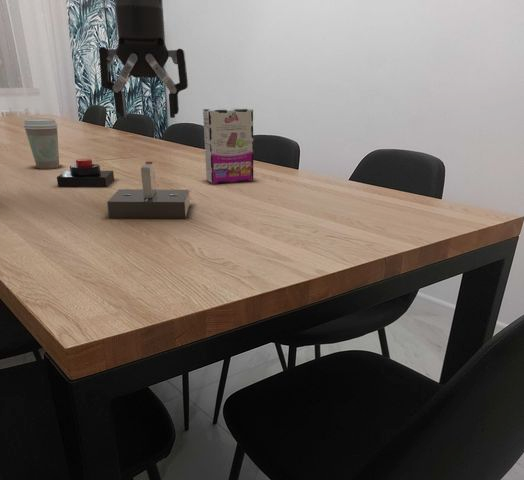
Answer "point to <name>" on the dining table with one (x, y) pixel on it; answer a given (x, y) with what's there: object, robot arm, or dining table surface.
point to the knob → (148, 179)
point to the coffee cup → (43, 142)
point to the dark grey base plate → (149, 204)
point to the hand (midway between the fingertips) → (148, 117)
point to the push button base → (85, 177)
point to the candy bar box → (228, 144)
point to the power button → (84, 162)
